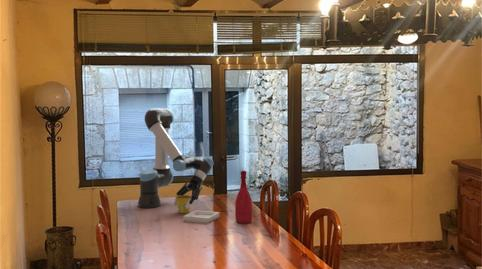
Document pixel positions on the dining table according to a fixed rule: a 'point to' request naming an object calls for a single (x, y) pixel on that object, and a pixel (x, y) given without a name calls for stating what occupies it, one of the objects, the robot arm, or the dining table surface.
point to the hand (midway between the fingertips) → (180, 206)
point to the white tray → (201, 216)
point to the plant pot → (182, 203)
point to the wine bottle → (243, 202)
